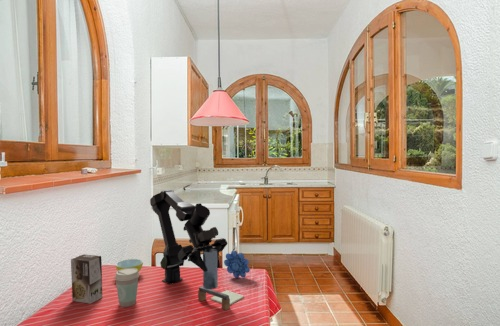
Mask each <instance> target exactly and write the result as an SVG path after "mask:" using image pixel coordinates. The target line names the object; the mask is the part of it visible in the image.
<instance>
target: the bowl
mask: <svg viewBox="0 0 500 326" xmlns="http://www.w3.org/2000/svg"><path fill="white" fill-rule="evenodd" d="M143 264H144V261H143V260H142V259H141V258H140V259H138V258H131V259H130V258H128V259H123V260H121V261H120V260H119V261H118V262H117V263H116V264H115V268H116V272H117V271H119V270H121V269H125V268H136V269H137V270H138V272H139V273H140V271H141V270H142V268H143Z"/></svg>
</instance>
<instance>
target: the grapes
mask: <svg viewBox="0 0 500 326" xmlns="http://www.w3.org/2000/svg"><path fill="white" fill-rule="evenodd" d="M223 264H224V265H225V267H226V271H227V273H229V274H232V276H233V277H234V278H240V277H241V278H245V277H246V275H247V274H248V273H250V270H251V269H250V267H249V264H250V261H249V259H247V258H245V255H244V253H242V252H237V251H236V250H232V251H231V252H228V253H226V254H225V260H224V261H223Z"/></svg>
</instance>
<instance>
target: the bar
mask: <svg viewBox="0 0 500 326" xmlns="http://www.w3.org/2000/svg"><path fill="white" fill-rule="evenodd" d="M199 290H200V291H202V292H205V293H206V294H209V295H211V296H213V297H214V296H217V297H220V298H223V299H225V300H228V299H229V295H226V294H223V293H222V292H220V291H216V290H215V289H205V288H203V285H201V286H198V291H199Z"/></svg>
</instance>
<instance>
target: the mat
mask: <svg viewBox="0 0 500 326" xmlns="http://www.w3.org/2000/svg"><path fill="white" fill-rule="evenodd" d="M221 293H223V294H226V295H229V298H230V306H231V305H233V304H234V303H236V302H239V301H240V300H242V299H244V298H245V296H244V295H242V294H239V293H236V292H233V291H231V290H227V289H226V290H224V291H222V292H221ZM222 299H223V298H220V297H217V296H214V295H213V296H212V297H210V301H214V302H217V303H220V304H222Z"/></svg>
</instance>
